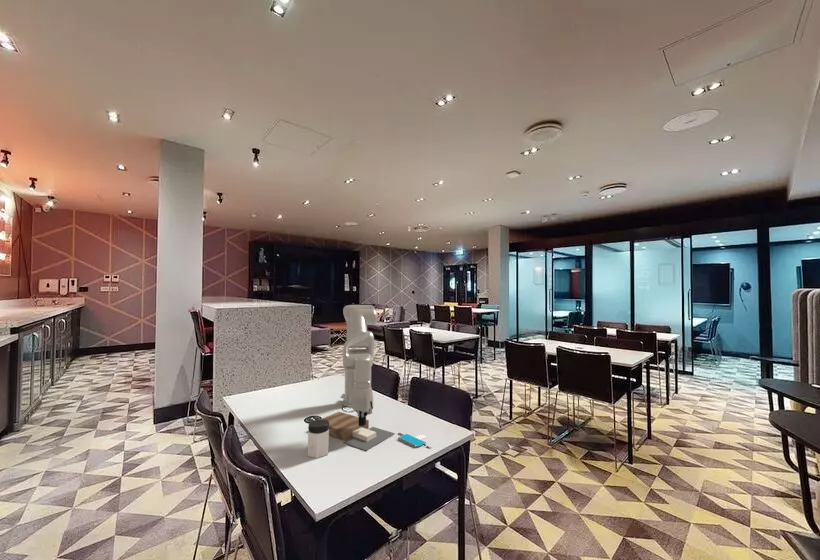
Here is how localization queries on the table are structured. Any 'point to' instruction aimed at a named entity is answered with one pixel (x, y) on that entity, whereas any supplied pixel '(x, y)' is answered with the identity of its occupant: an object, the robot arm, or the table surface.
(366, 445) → the mat
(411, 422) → the table surface
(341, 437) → the platform
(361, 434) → the cream flat block
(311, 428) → the jar
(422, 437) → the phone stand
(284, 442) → the table surface
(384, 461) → the table surface
